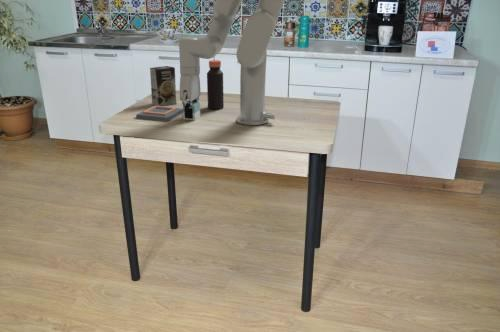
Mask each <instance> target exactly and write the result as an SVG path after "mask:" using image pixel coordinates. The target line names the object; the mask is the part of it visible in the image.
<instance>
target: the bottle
mask: <svg viewBox="0 0 500 332" xmlns="http://www.w3.org/2000/svg"><path fill="white" fill-rule="evenodd" d="M221 64H222V61H221V60H219V59H212V60H211V59H209V60H208V68H209V70H208V71H207V72H206V85H207V86H206V87H207V89H206V90H207V108H208V109H209V110H215V111H217V110H222V109H224V106H225V105H224V103H225V102H224V73H223V71H222V70H221V66H222V65H221Z"/></svg>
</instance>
